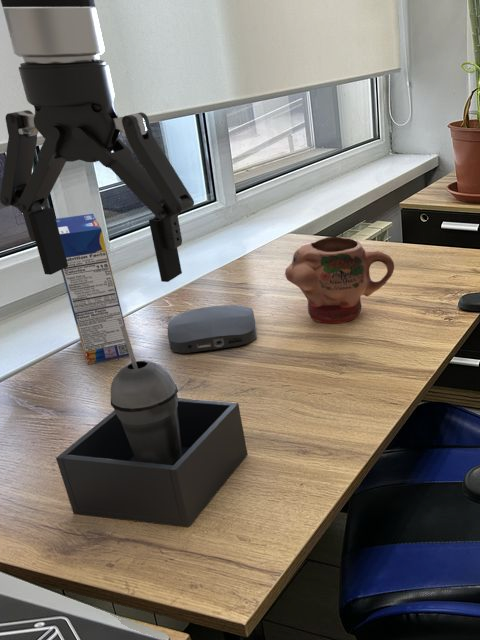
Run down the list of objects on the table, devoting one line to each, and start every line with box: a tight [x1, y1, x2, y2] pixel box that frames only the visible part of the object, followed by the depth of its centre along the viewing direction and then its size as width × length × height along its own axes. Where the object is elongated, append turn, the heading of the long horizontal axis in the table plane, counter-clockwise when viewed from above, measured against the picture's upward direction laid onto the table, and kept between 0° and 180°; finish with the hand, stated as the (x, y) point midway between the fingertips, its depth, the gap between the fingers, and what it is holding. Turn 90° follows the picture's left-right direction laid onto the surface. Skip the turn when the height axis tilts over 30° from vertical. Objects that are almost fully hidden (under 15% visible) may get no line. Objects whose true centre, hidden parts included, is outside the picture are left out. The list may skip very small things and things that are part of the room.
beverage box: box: [56, 213, 130, 365], centre depth 118 cm, size 7×11×22 cm, turn 32°
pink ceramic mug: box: [284, 235, 395, 324], centre depth 132 cm, size 20×12×14 cm, turn 103°
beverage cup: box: [110, 324, 183, 465], centre depth 82 cm, size 7×7×20 cm
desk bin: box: [55, 397, 248, 528], centre depth 85 cm, size 15×15×8 cm
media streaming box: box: [167, 304, 257, 354], centre depth 126 cm, size 15×15×3 cm
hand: (113, 274), depth 75 cm, fingers open, 13 cm apart
